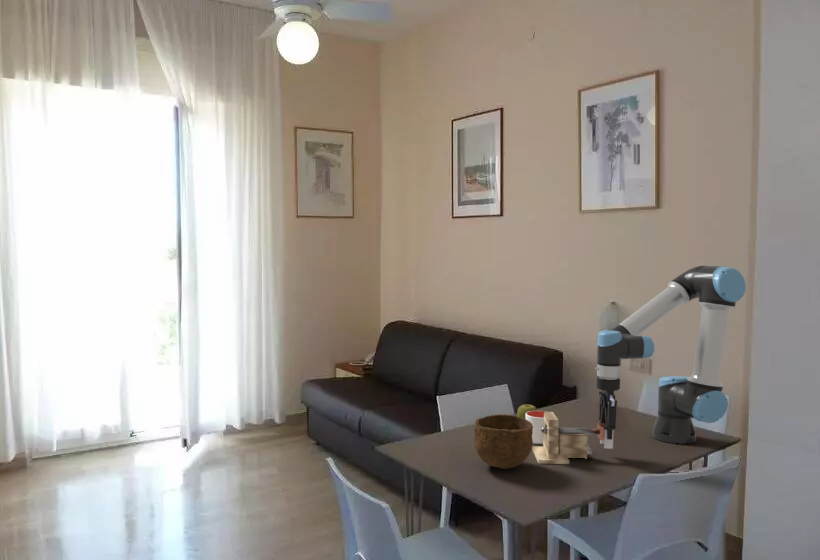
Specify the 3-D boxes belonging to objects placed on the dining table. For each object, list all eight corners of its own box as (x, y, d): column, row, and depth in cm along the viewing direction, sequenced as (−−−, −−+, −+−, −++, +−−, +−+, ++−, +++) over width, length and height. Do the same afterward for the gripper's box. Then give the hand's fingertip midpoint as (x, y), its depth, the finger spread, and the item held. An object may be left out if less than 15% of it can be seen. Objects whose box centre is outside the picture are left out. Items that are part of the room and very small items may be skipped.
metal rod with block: (609, 436, 218) (610, 423, 218) (613, 440, 214) (613, 427, 214) (539, 434, 219) (539, 421, 219) (541, 438, 215) (542, 425, 215)
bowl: (519, 482, 194) (520, 433, 193) (463, 470, 204) (464, 423, 203) (541, 464, 210) (542, 419, 209) (488, 453, 220) (489, 410, 219)
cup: (553, 446, 229) (553, 418, 228) (524, 444, 231) (525, 416, 230) (552, 438, 238) (553, 411, 238) (525, 436, 240) (525, 409, 240)
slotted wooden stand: (581, 450, 224) (582, 411, 223) (591, 464, 210) (592, 422, 209) (532, 449, 225) (532, 410, 224) (538, 463, 211) (539, 421, 210)
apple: (538, 426, 254) (539, 408, 253) (518, 425, 254) (518, 407, 253) (535, 420, 261) (535, 403, 261) (515, 420, 261) (516, 403, 261)
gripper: (590, 371, 224) (588, 437, 225) (603, 382, 207) (601, 454, 208) (612, 372, 224) (610, 438, 225) (627, 383, 206) (625, 454, 208)
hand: (606, 445), depth 217 cm, fingers closed on metal rod with block, 4 cm apart
